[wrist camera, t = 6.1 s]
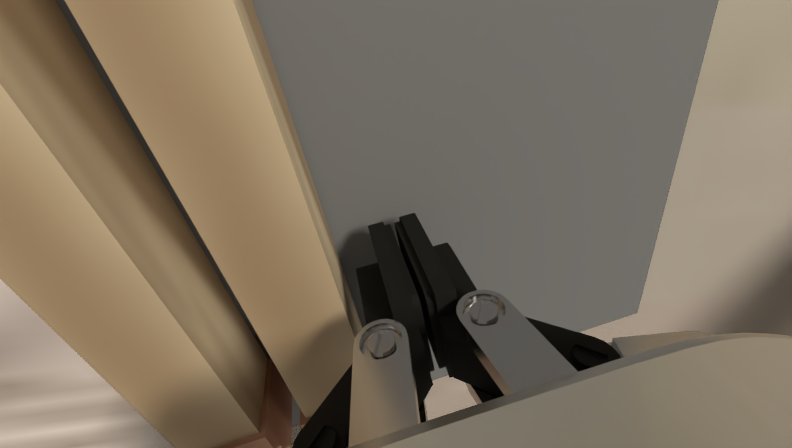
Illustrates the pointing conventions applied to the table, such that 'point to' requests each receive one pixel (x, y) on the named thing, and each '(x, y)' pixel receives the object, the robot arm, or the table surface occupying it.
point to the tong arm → (235, 171)
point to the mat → (489, 135)
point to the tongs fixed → (118, 250)
